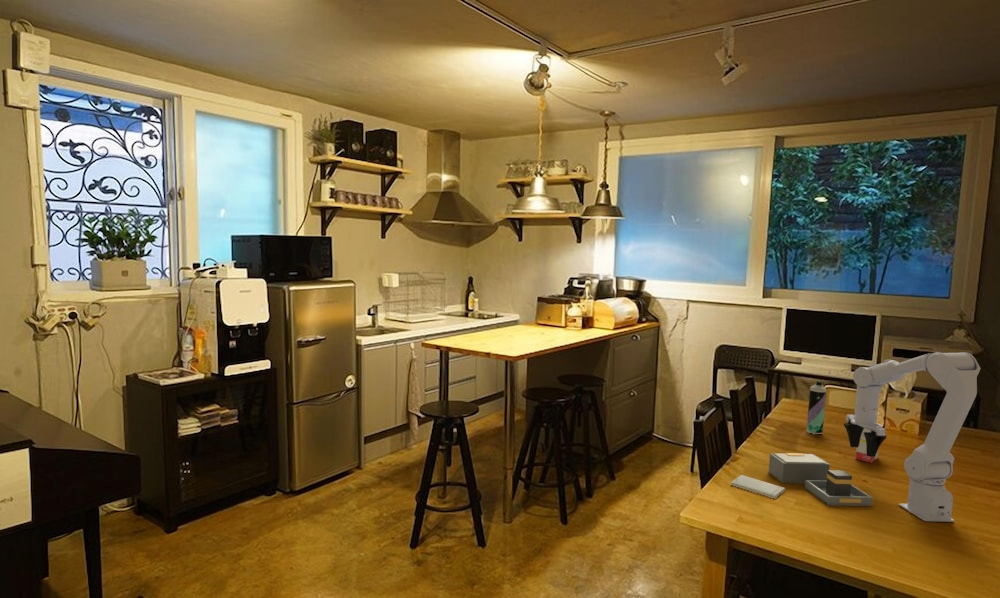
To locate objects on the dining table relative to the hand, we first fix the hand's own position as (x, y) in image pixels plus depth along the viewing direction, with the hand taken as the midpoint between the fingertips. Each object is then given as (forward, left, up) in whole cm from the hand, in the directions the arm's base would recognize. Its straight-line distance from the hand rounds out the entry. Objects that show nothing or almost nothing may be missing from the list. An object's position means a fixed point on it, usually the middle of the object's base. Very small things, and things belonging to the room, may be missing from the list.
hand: (862, 451), depth 172 cm
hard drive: (-6, +34, -10) cm, 36 cm away
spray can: (+47, -14, -10) cm, 50 cm away
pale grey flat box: (+2, +18, -9) cm, 20 cm away
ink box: (+20, -16, -10) cm, 27 cm away
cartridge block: (-11, +14, -9) cm, 20 cm away
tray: (-11, +14, -9) cm, 20 cm away
